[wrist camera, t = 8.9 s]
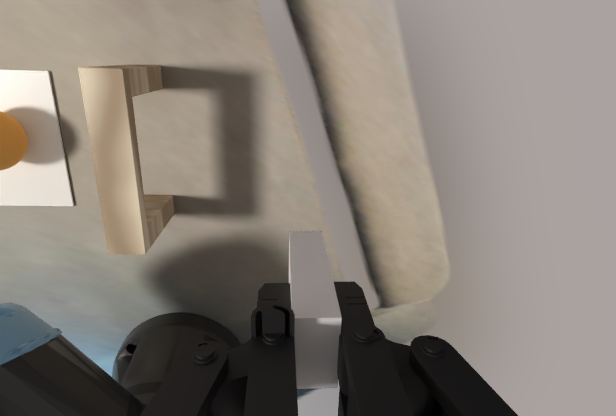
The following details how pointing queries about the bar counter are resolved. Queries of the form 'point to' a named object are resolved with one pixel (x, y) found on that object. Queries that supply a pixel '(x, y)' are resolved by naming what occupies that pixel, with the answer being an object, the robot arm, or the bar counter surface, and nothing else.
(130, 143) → the bridge
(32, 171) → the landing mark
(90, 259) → the bar counter surface
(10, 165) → the ball
